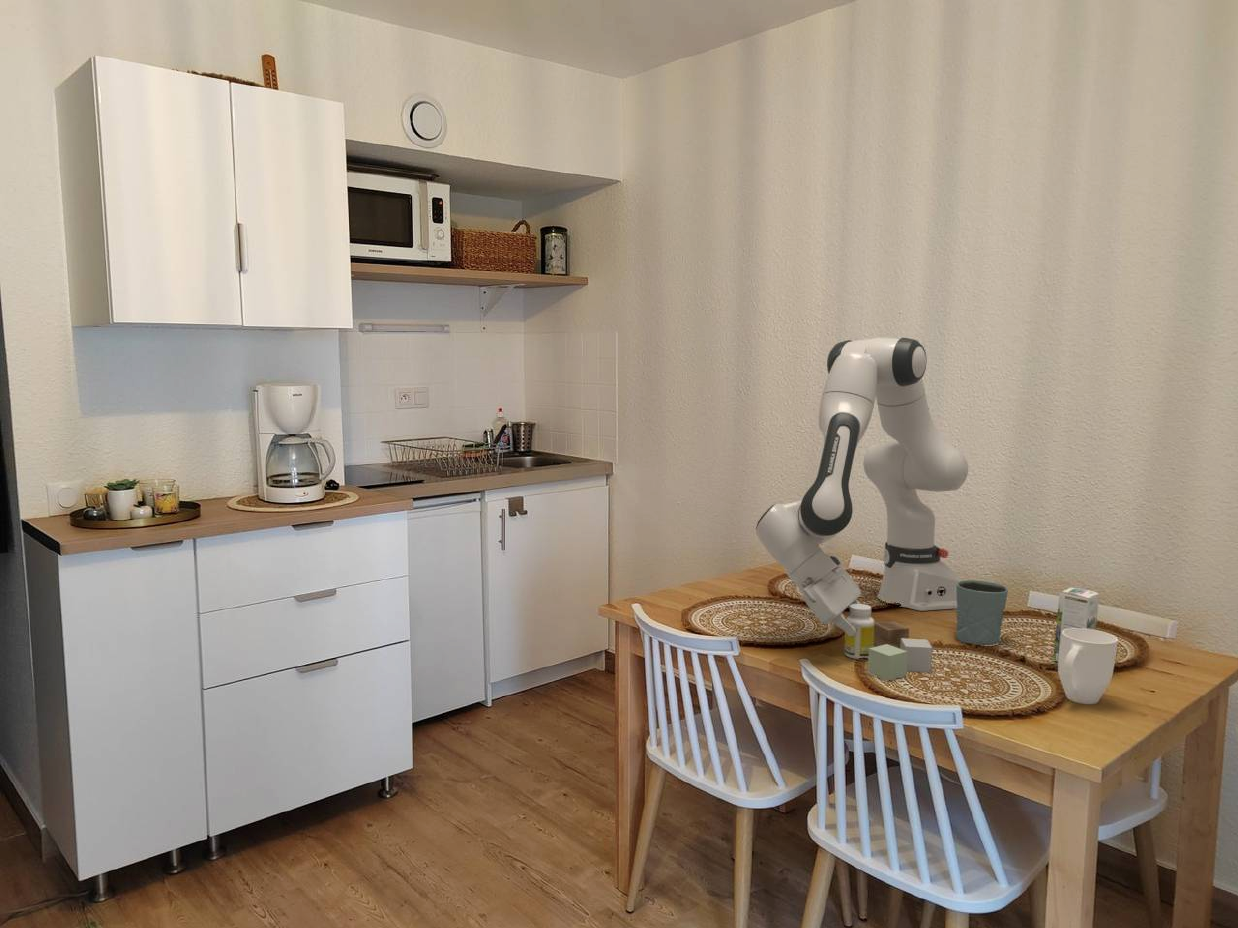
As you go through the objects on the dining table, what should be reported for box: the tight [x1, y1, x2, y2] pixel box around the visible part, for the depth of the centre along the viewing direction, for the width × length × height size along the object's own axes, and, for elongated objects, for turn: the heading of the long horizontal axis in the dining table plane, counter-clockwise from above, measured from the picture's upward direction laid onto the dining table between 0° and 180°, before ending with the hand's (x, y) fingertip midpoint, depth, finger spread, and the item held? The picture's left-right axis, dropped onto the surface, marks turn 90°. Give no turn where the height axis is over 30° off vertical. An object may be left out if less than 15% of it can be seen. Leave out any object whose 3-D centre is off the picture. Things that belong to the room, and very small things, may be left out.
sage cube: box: [867, 644, 908, 681], centre depth 172 cm, size 5×5×5 cm
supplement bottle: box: [844, 603, 875, 660], centre depth 183 cm, size 6×6×10 cm
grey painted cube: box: [900, 638, 933, 673], centre depth 177 cm, size 5×5×5 cm
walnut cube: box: [874, 620, 910, 649], centre depth 188 cm, size 5×5×5 cm
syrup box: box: [1052, 587, 1100, 661], centre depth 180 cm, size 6×6×14 cm
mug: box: [1057, 628, 1119, 705], centre depth 160 cm, size 12×9×12 cm
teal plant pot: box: [955, 579, 1009, 645], centre depth 193 cm, size 10×10×12 cm
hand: (860, 627), depth 183 cm, fingers open, 8 cm apart
